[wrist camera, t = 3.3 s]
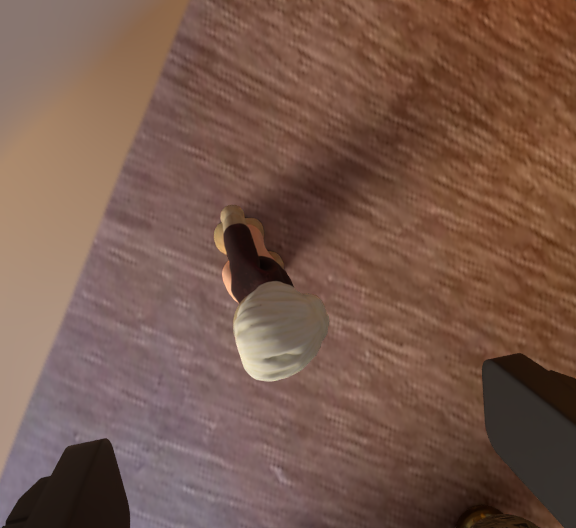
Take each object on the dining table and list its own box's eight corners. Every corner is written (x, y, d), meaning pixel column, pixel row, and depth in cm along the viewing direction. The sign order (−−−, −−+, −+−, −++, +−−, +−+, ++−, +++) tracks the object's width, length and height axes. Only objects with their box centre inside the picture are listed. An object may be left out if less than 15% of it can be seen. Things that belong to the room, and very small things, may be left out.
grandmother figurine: (181, 229, 26) (145, 297, 14) (237, 185, 26) (251, 214, 14) (268, 331, 28) (305, 471, 16) (320, 291, 28) (398, 400, 16)
